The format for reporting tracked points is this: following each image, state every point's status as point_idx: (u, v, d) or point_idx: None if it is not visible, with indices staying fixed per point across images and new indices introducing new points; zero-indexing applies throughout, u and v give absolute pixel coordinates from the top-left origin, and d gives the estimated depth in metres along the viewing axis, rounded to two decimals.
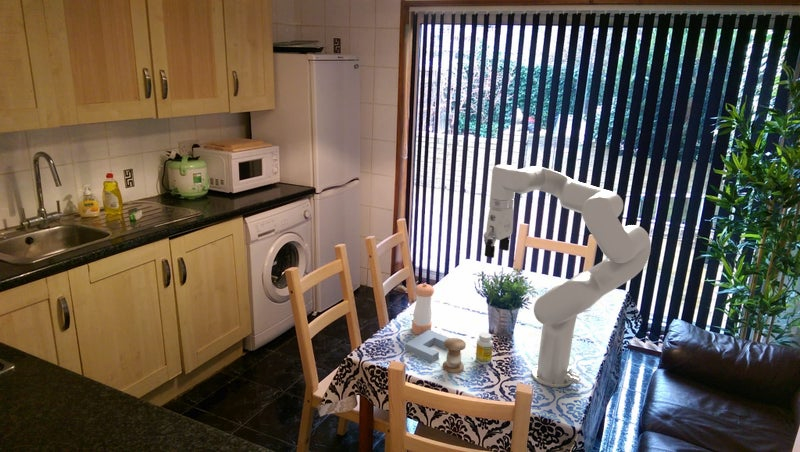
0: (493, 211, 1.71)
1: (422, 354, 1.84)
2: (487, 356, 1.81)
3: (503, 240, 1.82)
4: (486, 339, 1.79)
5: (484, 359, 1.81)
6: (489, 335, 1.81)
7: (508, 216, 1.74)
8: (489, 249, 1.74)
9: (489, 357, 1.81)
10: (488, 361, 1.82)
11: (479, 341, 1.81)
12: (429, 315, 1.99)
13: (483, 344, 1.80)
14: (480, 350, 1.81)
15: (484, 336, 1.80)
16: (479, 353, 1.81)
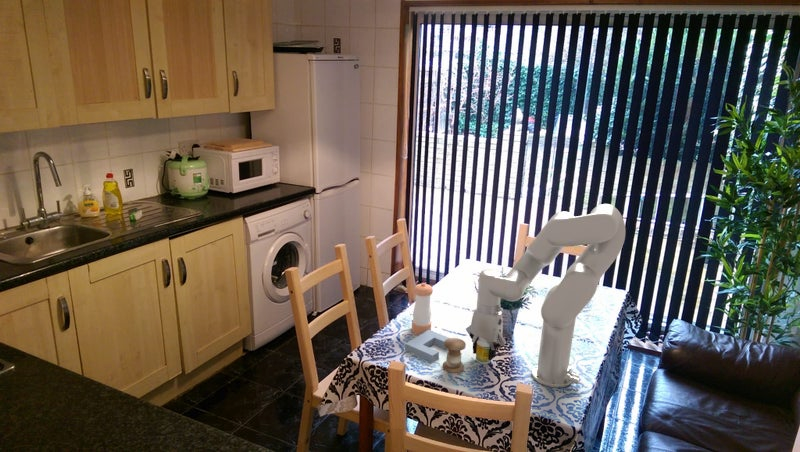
0: (499, 316, 1.76)
1: (422, 354, 1.84)
2: (486, 356, 1.81)
3: None
4: None
5: (484, 359, 1.81)
6: None
7: None
8: (495, 351, 1.81)
9: None
10: (488, 361, 1.82)
11: (479, 341, 1.81)
12: (428, 315, 1.99)
13: (483, 344, 1.80)
14: (480, 350, 1.81)
15: None
16: (479, 353, 1.81)
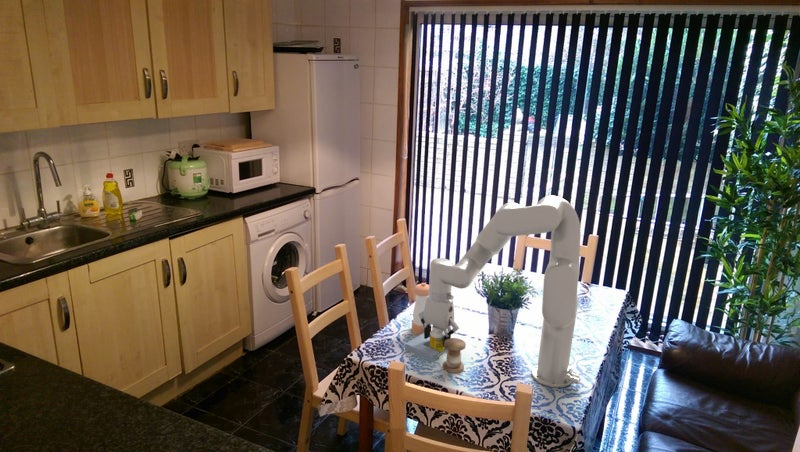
0: (450, 303, 1.80)
1: (422, 354, 1.84)
2: (439, 347, 1.85)
3: (428, 329, 1.89)
4: (438, 330, 1.84)
5: (436, 350, 1.86)
6: None
7: None
8: None
9: (442, 348, 1.86)
10: (441, 352, 1.86)
11: (432, 332, 1.86)
12: None
13: (436, 335, 1.84)
14: (433, 341, 1.85)
15: (436, 327, 1.85)
16: (432, 344, 1.86)
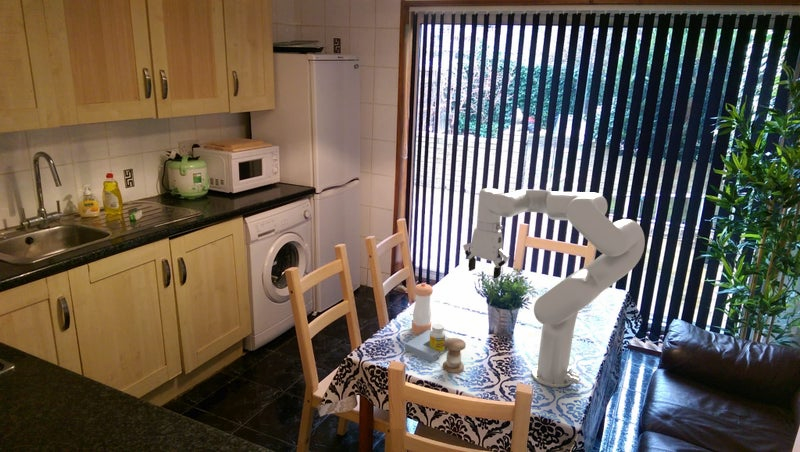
0: (499, 234, 1.77)
1: (422, 354, 1.84)
2: (439, 347, 1.85)
3: (473, 261, 1.85)
4: (438, 330, 1.84)
5: (436, 350, 1.86)
6: (441, 326, 1.86)
7: None
8: (500, 269, 1.80)
9: (441, 348, 1.86)
10: (441, 352, 1.86)
11: (432, 332, 1.86)
12: (428, 315, 1.99)
13: (436, 335, 1.84)
14: (432, 341, 1.85)
15: (436, 327, 1.85)
16: (432, 344, 1.86)
